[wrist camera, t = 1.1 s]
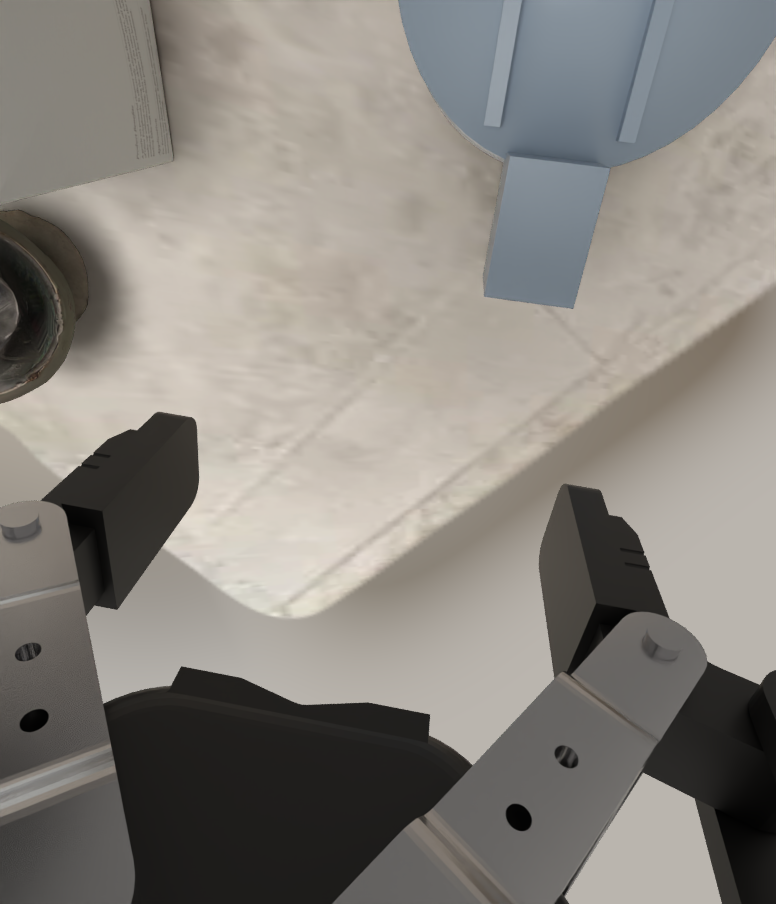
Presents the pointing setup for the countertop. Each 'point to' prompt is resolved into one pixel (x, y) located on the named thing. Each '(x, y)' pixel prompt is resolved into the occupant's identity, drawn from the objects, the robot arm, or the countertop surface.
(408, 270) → the countertop surface
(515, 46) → the lid
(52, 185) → the skincare box
